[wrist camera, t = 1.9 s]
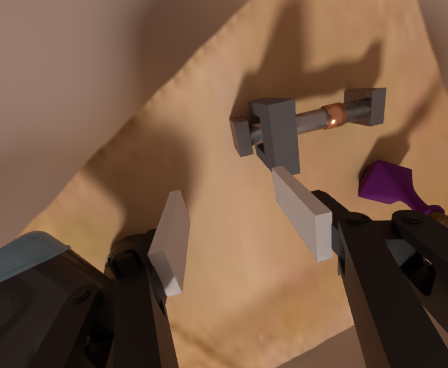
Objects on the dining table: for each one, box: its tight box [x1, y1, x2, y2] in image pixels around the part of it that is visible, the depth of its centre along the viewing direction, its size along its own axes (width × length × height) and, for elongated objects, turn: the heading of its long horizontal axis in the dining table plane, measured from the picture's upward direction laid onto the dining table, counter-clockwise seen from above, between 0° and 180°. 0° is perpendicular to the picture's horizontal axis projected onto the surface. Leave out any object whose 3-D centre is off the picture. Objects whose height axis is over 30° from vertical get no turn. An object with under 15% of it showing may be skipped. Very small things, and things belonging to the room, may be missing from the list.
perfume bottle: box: [358, 160, 448, 228], centre depth 34 cm, size 8×8×18 cm
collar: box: [248, 98, 300, 175], centre depth 30 cm, size 3×9×12 cm, turn 12°
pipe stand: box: [229, 88, 386, 157], centre depth 34 cm, size 22×5×7 cm, turn 102°
